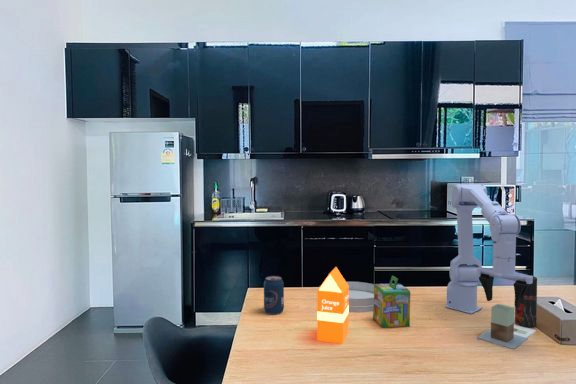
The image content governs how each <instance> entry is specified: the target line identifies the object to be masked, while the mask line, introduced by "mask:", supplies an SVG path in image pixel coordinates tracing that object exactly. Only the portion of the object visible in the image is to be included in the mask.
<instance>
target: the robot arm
mask: <svg viewBox="0 0 576 384" xmlns="http://www.w3.org/2000/svg"><path fill="white" fill-rule="evenodd" d="M451 203H452V208H454V209H456V221H457V222H456V224H457V248H458V249H457V250H458V251H457V252H458V255H457V256H455V257H454V258H453V259H452V260H450V266H449V267H450V268H449V278H450V279H449V280H450V281H449V282H448V284H447V287H446V305H445V308H448V309H452V310H455V311H459V312H463V313H467V314H469V315H470V314H471V315H472V314H473V313H476V312H477V311H479V310H480V311H481V310H482V307H481V306H478V286H480V284H481V286H482V287H483V290H484V293H485V298H486V301H488V302H490V301H492V300H493V296H494V295H493V286H494V279H495V278H498V279H503V280H509V281H513V282H514V283H513V288H514V303H513V304H514V307H516V308H518V307H520V304H521V300H522V297H523V295H524V293H525V291H526V289H527V287H528V286H529V284H532V283H533V275H528V274H524V273H520V272H517V271H516V251H517V250H516V249H517V247H516V246H517V236H518V235H519V233H521V227H522V225H521V219H520V217H519V216H518V215H517V214H512V213H508V211H506V210H505V209H504V207H502V205H501V204H500V203H499V202H498V201H492V199H491V198H490V197H489V195H488V190H487V186H486V185H485V184H484V183H478V184H477V183H474V184H471V183H469V184H466V183H465V184H464V183H462V184H461V183H460V184H459V183H456V184H454V186H453V187H452V190H451ZM476 208H480V212H481V215H482V217H483V218H484V219H485V220H486V221H487V222H488V223H489V225H488V226H489V231H490V234H491V235H490V236H491V237H490V238H491V241H493V242H492V268H490V267H484V266H483V267H482V262H481V260H479V259H478V258H477V257H475V253H474V233H473V230H474V228H473V211H474V210H475V209H476ZM515 281H517V282H516V283H515Z"/></svg>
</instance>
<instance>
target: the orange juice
mask: <svg viewBox="0 0 576 384" xmlns="http://www.w3.org/2000/svg"><path fill="white" fill-rule="evenodd" d="M347 282H348V281H346V279H345V278H344V277H343V275H342V274H341V272H340V270H339V269H338V266H335V267H334V268H333V269H332V270H331V271H330V272H329V273H328V275H327V277H326V278H325V279H324V281H323V282H322V284H321V285H319V288H318V289H317V290H316V292H317V293H316V296H317V297H316V301H317V302H316V303H317V304H316V306H317V307H316V309H317V310H316V321H317V322H316V323H317V325H316V326H317V327H316V332H317V334H316V337H317V341H321V342H326V343H327V342H328V343H334V344H344V343H345V340H346V339H347V336H348V334H349V331H350V330H349V328H350V326H349V322H350V320H349V319H350V318H349V315H350V314H349V313H350V312H349V289H350V288H349V285H348V284H347Z"/></svg>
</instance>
